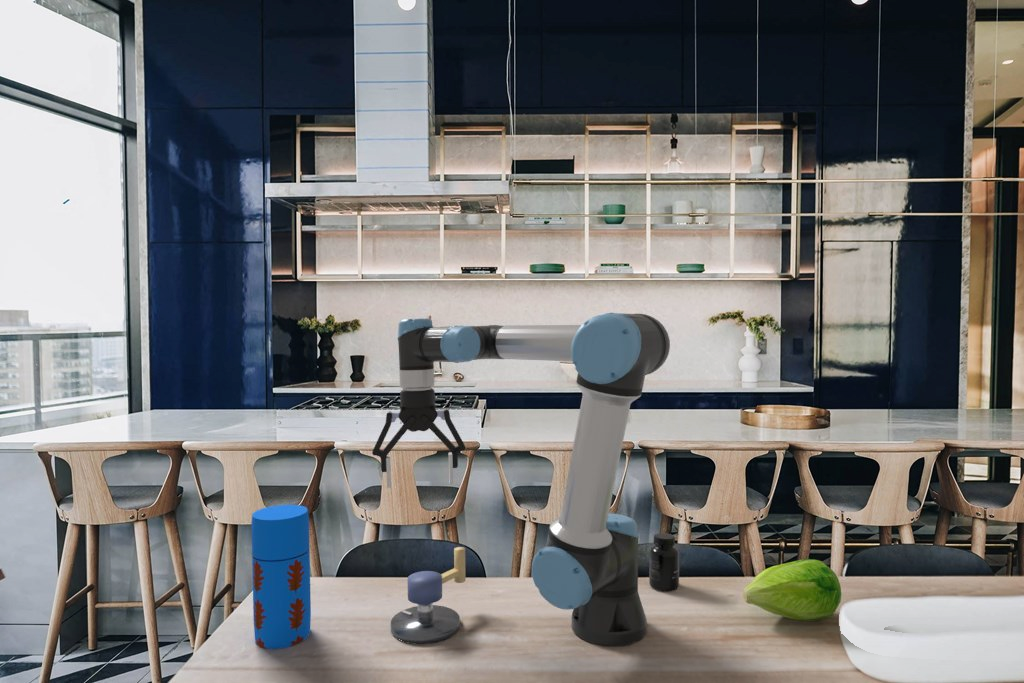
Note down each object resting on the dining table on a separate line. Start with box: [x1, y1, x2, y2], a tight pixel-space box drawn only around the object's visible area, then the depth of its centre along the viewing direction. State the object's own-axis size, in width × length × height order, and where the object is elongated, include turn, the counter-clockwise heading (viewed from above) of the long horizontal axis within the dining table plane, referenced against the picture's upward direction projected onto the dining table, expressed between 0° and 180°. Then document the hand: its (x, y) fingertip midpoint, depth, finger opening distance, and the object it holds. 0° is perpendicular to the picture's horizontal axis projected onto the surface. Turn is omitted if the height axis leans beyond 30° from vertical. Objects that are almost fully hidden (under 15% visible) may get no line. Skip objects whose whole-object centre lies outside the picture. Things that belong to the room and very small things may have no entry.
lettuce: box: [742, 558, 842, 622], centre depth 137 cm, size 14×20×12 cm
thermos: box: [251, 504, 312, 650], centre depth 131 cm, size 11×11×25 cm
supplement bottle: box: [648, 532, 680, 593], centre depth 154 cm, size 7×7×12 cm
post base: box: [390, 603, 461, 645], centre depth 135 cm, size 14×14×6 cm
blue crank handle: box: [407, 546, 466, 605], centre depth 138 cm, size 16×7×7 cm, turn 144°
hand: (420, 484), depth 145 cm, fingers open, 13 cm apart
